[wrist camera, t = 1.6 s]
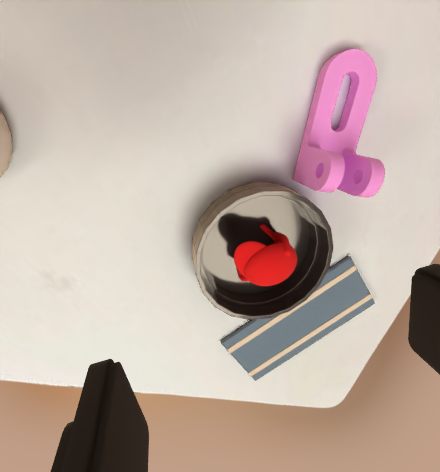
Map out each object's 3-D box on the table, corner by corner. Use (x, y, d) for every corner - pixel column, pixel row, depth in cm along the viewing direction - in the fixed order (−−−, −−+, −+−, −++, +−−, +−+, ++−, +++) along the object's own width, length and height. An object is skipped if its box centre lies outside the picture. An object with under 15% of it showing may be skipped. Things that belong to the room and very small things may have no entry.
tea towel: (348, 255, 39) (351, 258, 38) (372, 301, 43) (375, 303, 42) (220, 340, 40) (221, 344, 40) (254, 377, 44) (255, 381, 43)
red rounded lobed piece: (295, 229, 36) (319, 250, 30) (278, 273, 38) (298, 301, 32) (231, 215, 34) (245, 235, 28) (217, 263, 36) (227, 290, 30)
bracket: (337, 185, 35) (376, 201, 29) (292, 179, 34) (323, 194, 27) (375, 58, 31) (432, 44, 24) (326, 45, 29) (372, 27, 23)
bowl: (278, 153, 32) (294, 159, 29) (333, 253, 39) (352, 269, 35) (164, 234, 34) (165, 250, 30) (236, 319, 40) (244, 341, 36)
